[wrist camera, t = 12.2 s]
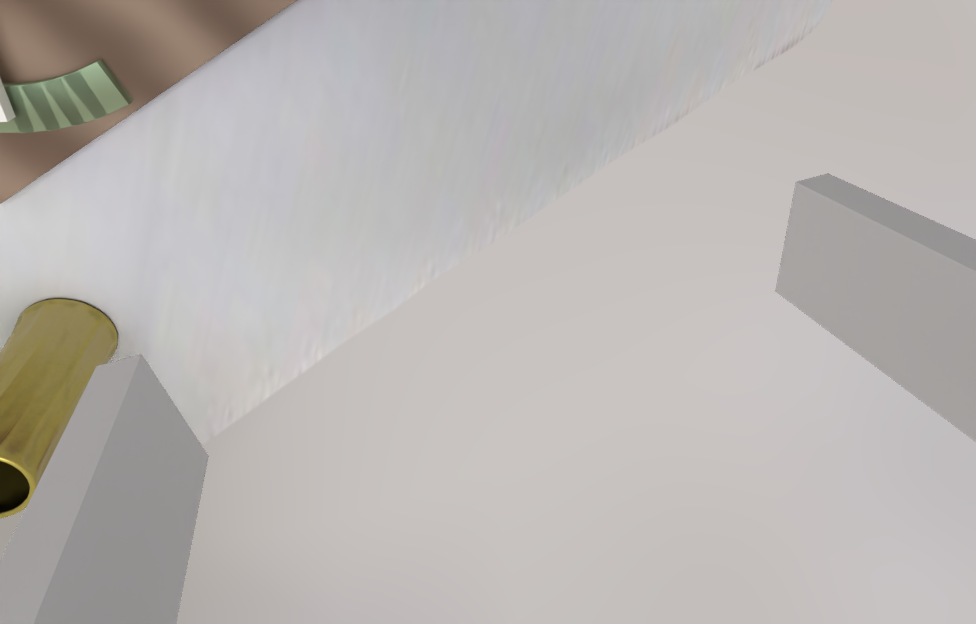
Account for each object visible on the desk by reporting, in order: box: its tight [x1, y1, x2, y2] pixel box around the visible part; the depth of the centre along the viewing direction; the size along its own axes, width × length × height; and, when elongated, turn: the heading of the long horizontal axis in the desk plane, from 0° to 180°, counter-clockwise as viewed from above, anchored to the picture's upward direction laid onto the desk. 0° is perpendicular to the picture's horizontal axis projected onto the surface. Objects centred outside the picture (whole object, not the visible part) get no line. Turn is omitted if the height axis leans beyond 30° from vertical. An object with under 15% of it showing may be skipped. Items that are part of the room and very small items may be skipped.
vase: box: [0, 299, 117, 518], centre depth 35 cm, size 6×6×14 cm
